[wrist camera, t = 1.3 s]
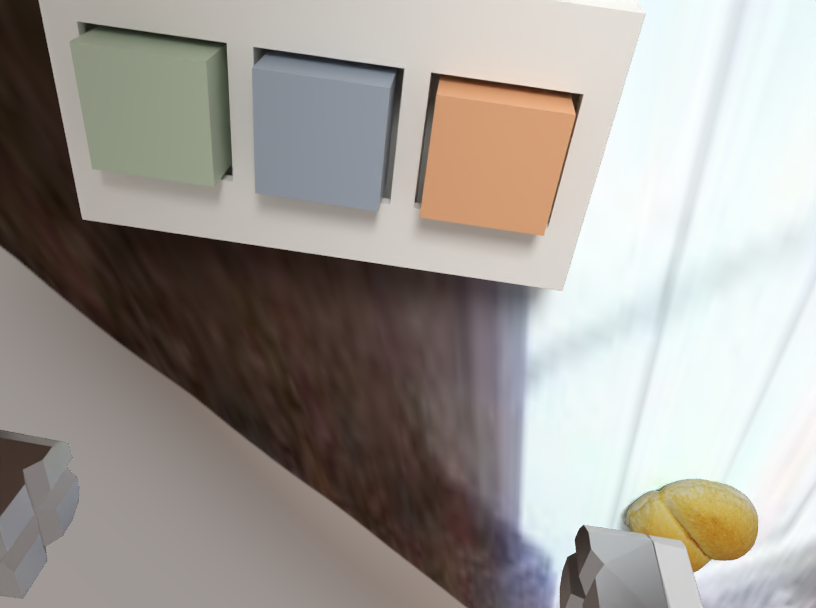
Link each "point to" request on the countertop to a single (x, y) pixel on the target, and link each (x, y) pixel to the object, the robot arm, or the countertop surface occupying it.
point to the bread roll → (698, 519)
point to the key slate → (322, 128)
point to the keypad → (411, 129)
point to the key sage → (154, 104)
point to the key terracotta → (495, 154)
